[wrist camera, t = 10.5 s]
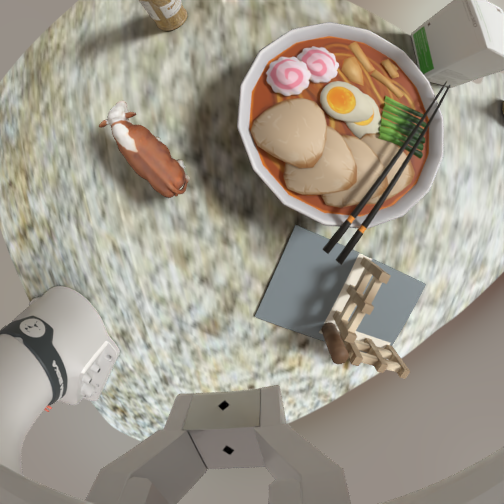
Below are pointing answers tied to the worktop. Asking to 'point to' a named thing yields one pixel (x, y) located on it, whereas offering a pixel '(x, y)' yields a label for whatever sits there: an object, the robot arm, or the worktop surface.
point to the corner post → (334, 343)
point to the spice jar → (166, 13)
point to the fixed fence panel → (376, 356)
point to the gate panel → (360, 299)
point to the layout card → (333, 291)
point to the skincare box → (461, 42)
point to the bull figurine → (146, 153)
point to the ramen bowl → (341, 127)
